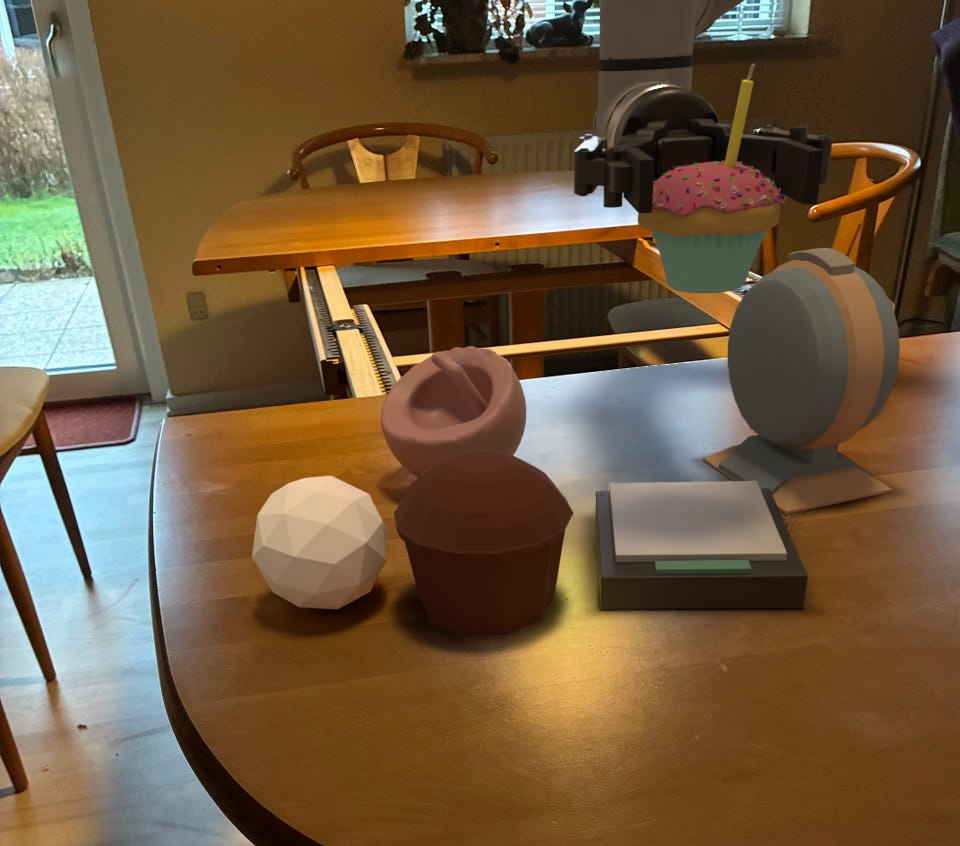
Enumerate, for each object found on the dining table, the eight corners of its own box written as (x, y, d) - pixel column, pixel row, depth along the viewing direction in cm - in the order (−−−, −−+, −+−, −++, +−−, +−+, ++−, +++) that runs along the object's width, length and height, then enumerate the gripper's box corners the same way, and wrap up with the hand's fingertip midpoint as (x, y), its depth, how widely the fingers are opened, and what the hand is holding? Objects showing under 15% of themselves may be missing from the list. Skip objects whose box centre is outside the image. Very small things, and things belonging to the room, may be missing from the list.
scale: (766, 516, 75) (770, 480, 73) (803, 608, 63) (809, 567, 61) (595, 519, 76) (595, 483, 74) (600, 609, 64) (601, 569, 63)
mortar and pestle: (359, 492, 83) (342, 356, 77) (445, 447, 91) (436, 321, 85) (473, 522, 77) (464, 377, 71) (554, 470, 85) (553, 337, 79)
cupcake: (794, 277, 62) (819, 58, 56) (742, 307, 57) (764, 66, 50) (670, 267, 67) (680, 63, 60) (610, 294, 61) (615, 71, 55)
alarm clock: (900, 496, 77) (945, 258, 68) (793, 519, 74) (825, 275, 65) (792, 438, 88) (818, 229, 79) (697, 456, 86) (712, 242, 77)
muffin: (373, 593, 68) (356, 456, 62) (506, 548, 72) (501, 417, 67) (463, 669, 59) (453, 517, 54) (608, 612, 64) (611, 468, 59)
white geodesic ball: (425, 590, 64) (380, 538, 74) (364, 467, 59) (325, 430, 70) (306, 655, 63) (278, 594, 73) (235, 535, 58) (216, 488, 69)
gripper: (798, 190, 75) (911, 244, 56) (521, 205, 76) (538, 263, 56) (811, 77, 71) (936, 94, 52) (519, 94, 72) (536, 116, 52)
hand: (729, 182), depth 54 cm, fingers closed on cupcake, 8 cm apart
